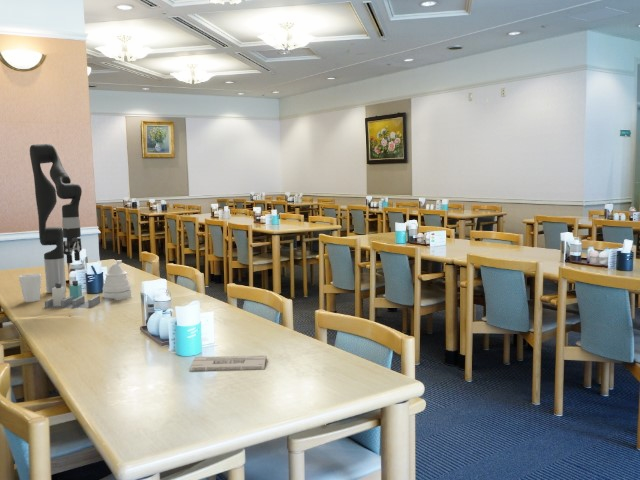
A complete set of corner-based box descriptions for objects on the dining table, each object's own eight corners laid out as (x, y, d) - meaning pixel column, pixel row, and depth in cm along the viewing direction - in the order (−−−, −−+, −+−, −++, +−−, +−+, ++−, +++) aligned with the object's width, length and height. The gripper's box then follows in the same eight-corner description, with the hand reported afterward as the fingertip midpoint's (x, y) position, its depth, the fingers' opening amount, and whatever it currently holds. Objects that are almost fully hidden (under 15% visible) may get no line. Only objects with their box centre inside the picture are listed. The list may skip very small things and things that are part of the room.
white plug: (57, 304, 260) (55, 282, 259) (66, 304, 260) (64, 282, 259) (53, 306, 256) (51, 284, 255) (62, 306, 256) (60, 283, 255)
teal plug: (73, 301, 271) (72, 280, 270) (82, 301, 271) (81, 280, 270) (70, 303, 267) (68, 281, 266) (79, 302, 267) (77, 281, 266)
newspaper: (266, 358, 181) (266, 351, 180) (264, 375, 169) (264, 367, 168) (194, 360, 180) (193, 352, 180) (186, 377, 168) (186, 369, 168)
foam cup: (36, 304, 265) (34, 276, 263) (16, 304, 265) (14, 277, 264) (46, 300, 274) (45, 273, 273) (27, 300, 274) (25, 273, 273)
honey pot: (135, 294, 284) (133, 258, 282) (124, 300, 271) (122, 262, 269) (110, 294, 285) (108, 258, 283) (98, 300, 272) (95, 262, 270)
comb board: (54, 304, 264) (53, 296, 263) (102, 303, 264) (102, 295, 264) (42, 310, 252) (41, 301, 251) (92, 309, 252) (92, 300, 252)
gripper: (69, 226, 272) (71, 260, 274) (56, 228, 258) (58, 264, 260) (85, 225, 272) (87, 259, 274) (73, 228, 258) (75, 264, 260)
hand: (73, 261), depth 267 cm, fingers open, 8 cm apart
